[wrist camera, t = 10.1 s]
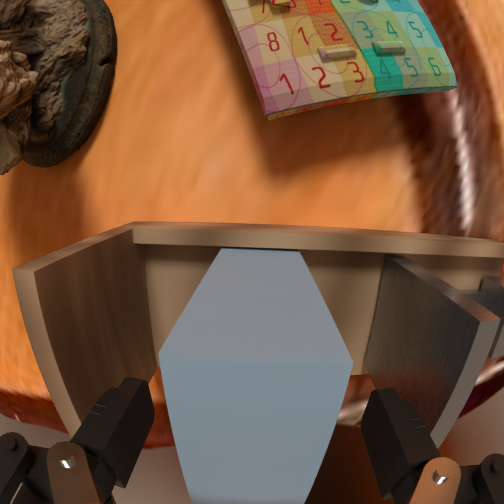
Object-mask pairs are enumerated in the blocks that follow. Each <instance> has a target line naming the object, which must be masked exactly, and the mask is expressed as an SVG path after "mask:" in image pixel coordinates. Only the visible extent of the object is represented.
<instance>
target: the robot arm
mask: <svg viewBox="0 0 504 504" xmlns="http://www.w3.org/2000/svg"><path fill="white" fill-rule="evenodd" d="M153 422H154V406H153V402H152V398H151V394H150V390H149V385H148V382H147V381H146V380H142V379H137V378H132V377H125V378H124V379H123V381H122V383H121V384H120V386H119V387H118V388H115V387H112V388H110V389H109V390H107V391H106V392H104V393H103V394H102V395H101V396H100V398H99V399H98V401H97V402H96V405H94V406H93V408H92V409H91V412H90V413H89V414H88V415H87V417H86V418H85V420H84V421H83V423H82V424H81V426H80V427H79V429H78V430H77V432H76V433H75V435H74V436H73V438H72V439H71V440H70V441H69V442H66V441H65V442H59V443H56V444H55V445H53V446H52V447H51V448H43V447H37V446H31V445H29V444H28V443H27V441H26V440H25V438H24V437H23V436H22V435H20V434H18V433H14V432H9V433H6V434H4V435H2V436H1V437H0V504H10V502H11V500H12V498H13V496H14V494H15V493H16V491H17V489H18V487H19V485H20V484H21V483H22V486H21V488H20V490H19V491H18V493H17V495H16V497H15V499H14V500H13V503H12V504H116V501H115V499H114V497H113V494H112V490H113V487H114V485H116V486H119V487H122V488H126V485H127V483H128V481H129V478H130V476H131V473H132V471H133V469H134V466H135V464H136V462H137V459H138V457H139V455H140V452H141V450H142V448H143V445H144V443H145V441H146V438H147V436H148V434H149V431H150V429H151V427H152V425H153ZM361 431H362V435H363V438H364V442H365V445H366V448H367V451H368V455H369V458H370V461H371V464H372V468H373V471H374V475H375V478H376V481H377V485H378V489H379V492H380V496H381V499H382V500H384V499H388V498H392V497H393V501H394V504H504V455H501V454H491V455H489V456H487V457H486V458H485V459H484V460H483V461H482V462H481V463H480V465H470V466H459V465H458V464H457V463H456V462H454V461H453V460H451V459H449V458H445V457H441V455H440V453H439V451H438V449H437V447H436V445H435V443H434V441H433V440H432V438H431V436H430V434H429V432H428V430H427V428H426V427H425V424H424V423H423V421H422V419H420V415H419V413H418V412H417V410H416V408H415V407H414V406H413V405H412V404H411V403H410V402H408V401H407V400H406V399H403V400H400V398H399V396H398V394H397V392H396V390H395V389H394V388H385V389H376V390H373V391H372V392H371V395H370V398H369V401H368V403H367V406H366V409H365V412H364V414H363V417H362V421H361Z"/></svg>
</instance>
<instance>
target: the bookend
mask: <svg viewBox="0 0 504 504" xmlns="http://www.w3.org/2000/svg"><path fill="white" fill-rule="evenodd" d="M487 356H488V357H489V358H490V359H493V358H497V357H500V356H504V278H502V277H500V276H484V277H483V281H482V286H481V289H472V290H458V289H456V288H455V287H453V286H452V285H450V284H448V283H447V282H445V281H444V280H442V279H440V278H439V277H437V276H436V275H434V274H432V273H431V272H429V271H428V270H426V269H424V268H423V267H421V266H419V265H418V264H416V263H414V262H413V261H411V260H409V259H407V258H406V257H404V256H402V255H385V259H384V266H383V273H382V279H381V285H380V291H379V297H378V302H377V307H376V312H375V317H374V322H373V327H372V331H371V336H370V340H369V344H368V349H367V353H366V357H365V361H364V365H365V367H366V369H367V371H368V373H369V375H370V377H371V379H372V381H373V383H374V385H375V387H376V389H385V388H394V389H395V390H396V392H397V394H398V396H399V398H400V400H403V399H406V400H407V401H408V402H410V403H411V404H412V405H413V406H414V407H415V408H416V410H417V412H418V413H419V415H420V419H422V421H423V423H424V424H425V427H426V428H427V430H428V432H429V434H430V436H431V438H432V440H433V441H434V443H435V445H436V447H437V449H438V448H439V447H440V445H441V443H442V442H443V440H444V439H445V437H446V436H447V434H448V433H449V431H450V429H451V427H452V426H453V424H454V422H455V421H456V419H457V417H458V416H459V414H460V412H461V410H462V409H463V407H464V405H465V403H466V401H467V399H468V397H469V395H470V393H471V391H472V389H473V387H474V385H475V383H476V381H477V379H478V377H479V374H480V372H481V370H482V368H483V365H484V363H485V361H486V358H487Z"/></svg>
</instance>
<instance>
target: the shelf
mask: <svg viewBox="0 0 504 504" xmlns="http://www.w3.org/2000/svg"><path fill="white" fill-rule="evenodd" d="M223 246H229V247H257V248H284V249H298V250H299V252H300V254H301V256H302V257H303V259H304V261H305V263H306V265H307V267H308V269H309V271H310V273H311V275H312V277H313V279H314V281H315V283H316V285H317V287H318V289H319V291H320V293H321V295H322V297H323V299H324V301H325V303H326V305H327V307H328V309H329V312H330V314H331V316H332V318H333V320H334V322H335V324H336V326H337V328H338V330H339V332H340V334H341V337H342V339H343V341H344V343H345V345H346V347H347V349H348V352H349V354H350V356H351V358H352V360H353V362H354V363H353V366H352V370H351V374H350V375H361V374H369V373H368V371H367V369H366V367H365V365H364V361H365V357H366V353H367V349H368V344H369V340H370V336H371V331H372V327H373V322H374V317H375V312H376V307H377V302H378V297H379V291H380V285H381V279H382V273H383V266H384V259H385V255H402V256H404V257H406V258H407V259H409V260H411V261H413V262H414V263H416V264H418V265H419V266H421V267H423V268H424V269H426V270H428V271H429V272H431V273H432V274H434V275H436V276H437V277H439V278H440V279H442V280H444V281H445V282H447V283H448V284H450V285H452V286H453V287H455V288H456V289H458V290H472V289H481V286H482V281H483V277H484V276H500V273H501V268H502V263H503V258H504V243H503V242H500V241H497V240H489V239H480V238H469V237H459V236H447V235H436V234H423V233H411V232H397V231H383V230H367V229H351V228H333V227H314V226H293V225H268V224H239V223H200V222H131V223H128V224H126V225H123V226H120V227H117V228H114V229H111V230H109V231H106V232H103V233H100V234H97V235H95V236H92V237H89V238H87V239H84V240H81V241H79V242H76V243H74V244H71V245H69V246H66V247H63V248H61V249H58V250H56V251H53V252H51V253H49V254H46V255H44V256H41V257H39V258H37V259H34V260H32V261H29V262H27V263H25V264H23V265H20V266H18V267H16V268H13V269H12V270H13V276H14V281H15V286H16V291H17V296H18V300H19V304H20V308H21V312H22V316H23V320H24V324H25V327H26V330H27V334H28V337H29V340H30V343H31V347H32V350H33V352H34V355H35V358H36V361H37V364H38V366H39V369H40V372H41V374H42V377H43V379H44V382H45V384H46V387H47V389H48V391H49V394H50V396H51V398H52V400H53V402H54V405H55V407H56V409H57V411H58V413H59V415H60V417H61V419H62V421H63V423H64V425H65V427H66V429H67V431H68V432H69V434H70V436H71V438H73V436H74V435H75V433H76V432H77V430H78V429H79V427H80V426H81V424H82V423H83V421H84V420H85V418H86V417H87V415H88V414H89V413H90V412H91V409H92V408H93V406H94V405H96V402H97V401H98V399H99V398H100V396H101V395H102V394H103V393H104V392H106V391H107V390H109V389H110V388H112V387H115V388H118V387H119V386H120V384H121V383H122V381H123V379H124V378H125V377H132V378H137V379H142V380H146V381H147V382H148V384H149V382H150V380H151V378H152V376H153V375H154V373H155V371H156V369H157V367H159V368H160V362H159V355H158V353H159V351H160V350H161V348H162V346H163V344H164V343H165V341H166V339H167V338H168V336H169V334H170V332H171V331H172V329H173V327H174V326H175V324H176V322H177V321H178V319H179V317H180V316H181V314H182V312H183V311H184V309H185V307H186V306H187V304H188V302H189V301H190V299H191V297H192V296H193V294H194V292H195V291H196V289H197V287H198V286H199V284H200V282H201V281H202V279H203V277H204V276H205V274H206V273H207V271H208V269H209V268H210V266H211V264H212V263H213V261H214V260H215V258H216V256H217V255H218V253H219V251H220V250H221V248H222V247H223Z"/></svg>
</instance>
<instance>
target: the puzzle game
mask: <svg viewBox="0 0 504 504" xmlns="http://www.w3.org/2000/svg"><path fill="white" fill-rule="evenodd" d="M221 1H222V3H223V6H224V8H225V11H226V13H227V15H228V18H229V20H230V23H231V25H232V28H233V30H234V33H235V35H236V38H237V41H238V43H239V46H240V48H241V51H242V54H243V56H244V59H245V62H246V64H247V67H248V70H249V72H250V75H251V78H252V81H253V84H254V86H255V89H256V92H257V95H258V98H259V101H260V103H261V106H262V109H263V112H264V115H265V118H266V121H269V120H272V119H276V118H280V117H284V116H288V115H292V114H296V113H300V112H305V111H309V110H314V109H318V108H323V107H328V106H333V105H338V104H343V103H349V102H355V101H361V100H367V99H374V98H381V97H388V96H397V95H406V94H416V93H429V92H445V91H449V90H451V89H454V88H456V87H457V83H456V78H455V73H454V71H453V68H452V66H451V64H450V61H449V59H448V57H447V55H446V53H445V51H444V48H443V46H442V44H441V42H440V40H439V38H438V36H437V34H436V33H435V31H434V29H433V27H432V25H431V23H430V22H429V20H428V18H427V16H426V15H425V13H424V11H423V9H422V8H421V6H420V5H419V3H418V1H417V0H221Z"/></svg>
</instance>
